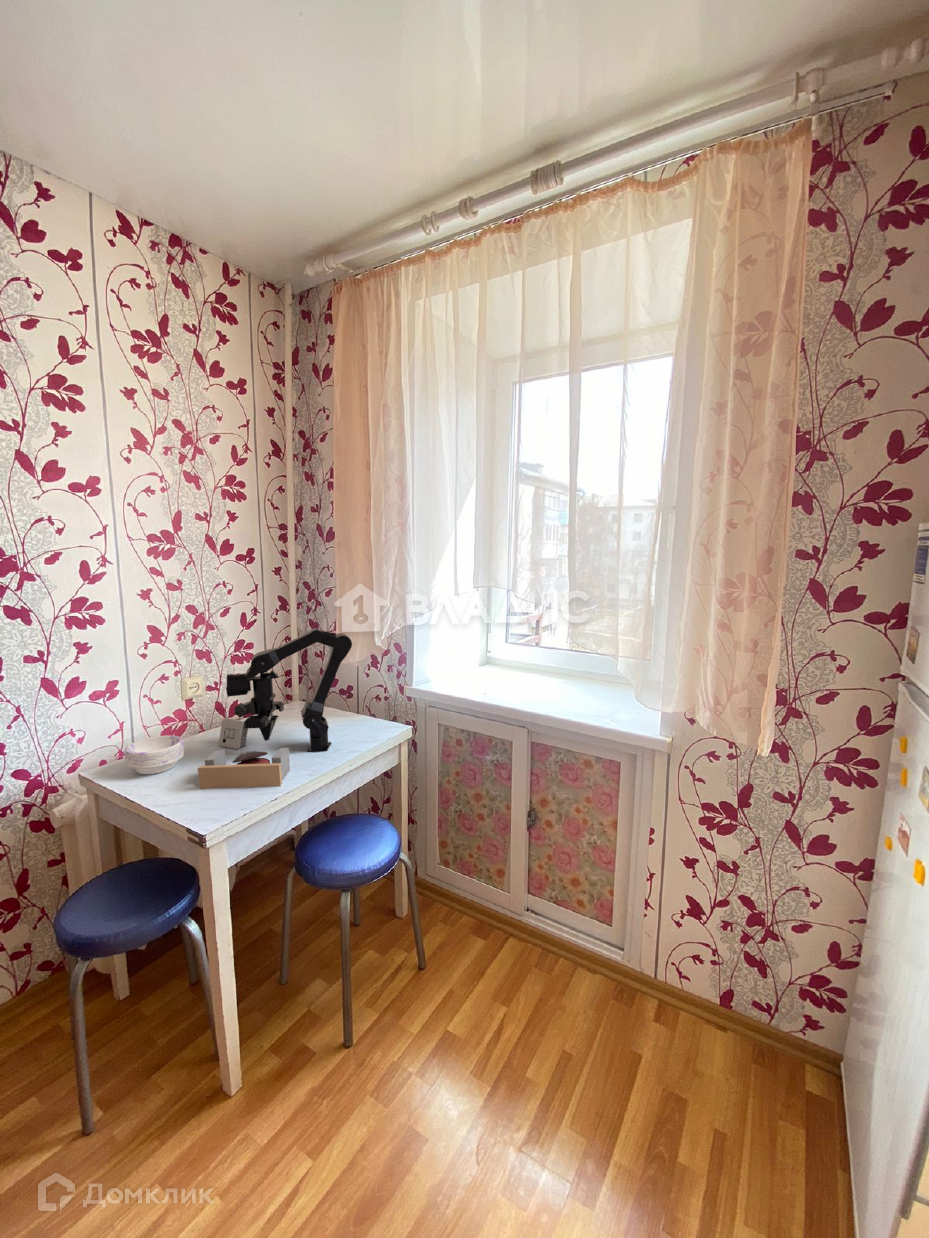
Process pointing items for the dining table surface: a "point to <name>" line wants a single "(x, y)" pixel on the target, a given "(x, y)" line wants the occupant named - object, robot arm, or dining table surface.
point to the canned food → (251, 758)
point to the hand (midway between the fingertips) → (266, 740)
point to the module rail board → (243, 772)
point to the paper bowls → (154, 754)
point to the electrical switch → (232, 733)
